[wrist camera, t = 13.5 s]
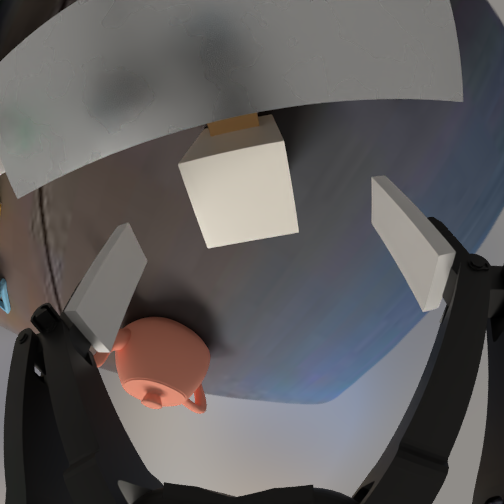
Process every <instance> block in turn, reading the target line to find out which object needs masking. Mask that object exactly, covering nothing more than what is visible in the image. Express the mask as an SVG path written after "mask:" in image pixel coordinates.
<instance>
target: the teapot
mask: <svg viewBox="0 0 504 504" xmlns="http://www.w3.org/2000/svg"><path fill="white" fill-rule="evenodd" d="M114 350H115V358H116V366H117V371H118V375H119V378H120V381H121V384H122V386H123V388H124V390H125V391H126V392H127V393H129V394H130V395H132V396H133V397H135V398H137V399H139V400H141V403H142V404H143V405H145V406H146V407H149V408H153V409H160V408H162V406H177V405H180V404H183V405H184V406H185V407H187V408H188V409H190V410H191V411H193V412H195V413H199V414H201V413H204V412H205V411H206V399H205V394H204V391H203V387H202V384H201V383H202V381H203V379H204V377H205V375H206V373H207V370H208V367H209V363H210V352H209V349H208V348H207V346H206V345H205V343H204V342H203V340H202V339H201V338H200V337H199V336H198V335H197V334H196V333H195V332H194V331H192V330H191V329H189V328H188V327H186V326H184V325H183V324H181V323H179V322H176V321H174V320H171V319H168V318H164V317H146V318H142V319H139V320H136V321H134V322H132V323H130V324H128V325H127V326H125V327H124V328H123V329H119V331H118V333H117V336H116V339H115V341H114V344H113V347H112V350H111V352H112V351H114ZM109 354H110V353H108V352H98V351H97V352H96V354H95V355H94V359H95V362H96V365H97V367H100V366H101V365H102V364H103V363H104V362H105V361H106V359H107V357H108V356H109ZM193 393H194V396H195V403H193V402H192V401H191V400H190V399H188V398H189V397H190V396H191V395H192V394H193Z"/></svg>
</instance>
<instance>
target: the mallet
mask: <svg viewBox="0 0 504 504" xmlns="http://www.w3.org/2000/svg"><path fill="white" fill-rule="evenodd" d="M207 125H208V128H206V129H204V130H203V131H202V132H201V134H200V135H199V136H198V138H197V139H196V140H195V142H194V143H193V144H192V146H191V147H190V148H189V150H188V151H187V152H186V154H185V155H184V157H183V158H182V159H181V161H180V162H179V164H178V166H179V169H180V172H181V175H182V177H183V180H184V183H185V186H186V189H187V192H188V195H189V198H190V201H191V203H192V206H193V209H194V212H195V215H196V218H197V220H198V223H199V226H200V229H201V231H202V234H203V237H204V239H205V242H206V245H207V248H213V247H218V246H224V245H230V244H235V243H241V242H246V241H252V240H258V239H263V238H269V237H275V236H281V235H286V234H292V233H298V232H299V229H298V222H297V216H296V209H295V202H294V196H293V190H292V184H291V178H290V172H289V166H288V160H287V154H286V149H285V143H284V140H283V137H282V135H281V133H280V131H279V129H278V126H277V124H276V122H275V120H274V118H273V116H272V114H271V115H265V116H260V117H258V114H257V113H252V114H247V115H242V116H237V117H232V118H228V119H224V120H219V121H215V122H211V123H207Z"/></svg>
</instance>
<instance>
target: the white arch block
mask: <svg viewBox="0 0 504 504" xmlns="http://www.w3.org/2000/svg"><path fill="white" fill-rule="evenodd" d="M368 99H428V100H445V101H457V102H463V86H462V72H461V62H460V53H459V46H458V39H457V33H456V28H455V22H454V18H453V13H452V9H451V4H450V0H78V1H76V2H75V3H73V4H72V5H70V6H68V7H67V8H65V9H64V10H62V11H61V12H59V13H58V14H57V15H55V16H54V17H52V18H51V19H50V20H48V21H47V22H46V23H44V24H43V25H42V26H40V27H39V28H38V29H36V30H35V31H34V32H33V33H32V34H30V35H29V36H28V37H27V38H25V39H24V40H23V41H22V42H21V43H20V44H19V45H17V46H16V47H15V48H14V49H13V50H12V51H11V52H10V53H9V54H8V55H7V56H6V57H5V58H3V59H2V60H1V61H0V159H1V162H2V164H3V167H4V169H5V172H6V174H7V176H8V179H9V181H10V183H11V186H12V188H13V190H14V192H15V194H16V196H17V199H19V198H21V197H22V196H24V195H26V194H28V193H30V192H31V191H33V190H35V189H37V188H39V187H41V186H43V185H45V184H46V183H48V182H50V181H52V180H54V179H56V178H58V177H61V176H63V175H65V174H67V173H69V172H71V171H73V170H75V169H78V168H80V167H82V166H84V165H87V164H89V163H91V162H94V161H96V160H98V159H101V158H103V157H106V156H108V155H111V154H113V153H116V152H119V151H121V150H124V149H127V148H129V147H132V146H135V145H138V144H141V143H143V142H146V141H149V140H152V139H155V138H158V137H162V136H165V135H168V134H171V133H175V132H178V131H181V130H185V129H188V128H192V127H196V126H199V125H203V124H207V123H211V122H215V121H219V120H224V119H228V118H232V117H237V116H242V115H247V114H252V113H257V112H262V111H268V110H274V109H280V108H286V107H293V106H300V105H308V104H317V103H326V102H337V101H350V100H368Z"/></svg>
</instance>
